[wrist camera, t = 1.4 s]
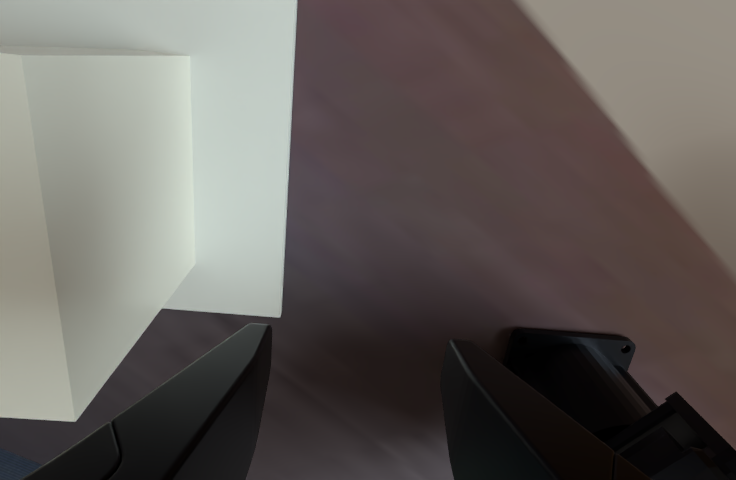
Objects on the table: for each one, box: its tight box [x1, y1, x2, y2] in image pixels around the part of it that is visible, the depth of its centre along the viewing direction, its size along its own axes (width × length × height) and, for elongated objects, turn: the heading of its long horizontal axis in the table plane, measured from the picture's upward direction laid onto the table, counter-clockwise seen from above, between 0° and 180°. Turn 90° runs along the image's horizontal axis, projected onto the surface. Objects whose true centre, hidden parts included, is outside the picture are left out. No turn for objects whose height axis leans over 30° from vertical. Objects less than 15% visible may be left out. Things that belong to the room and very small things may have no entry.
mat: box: [0, 0, 297, 318], centre depth 20 cm, size 18×14×1 cm
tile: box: [0, 45, 195, 422], centre depth 15 cm, size 2×9×10 cm, turn 174°
